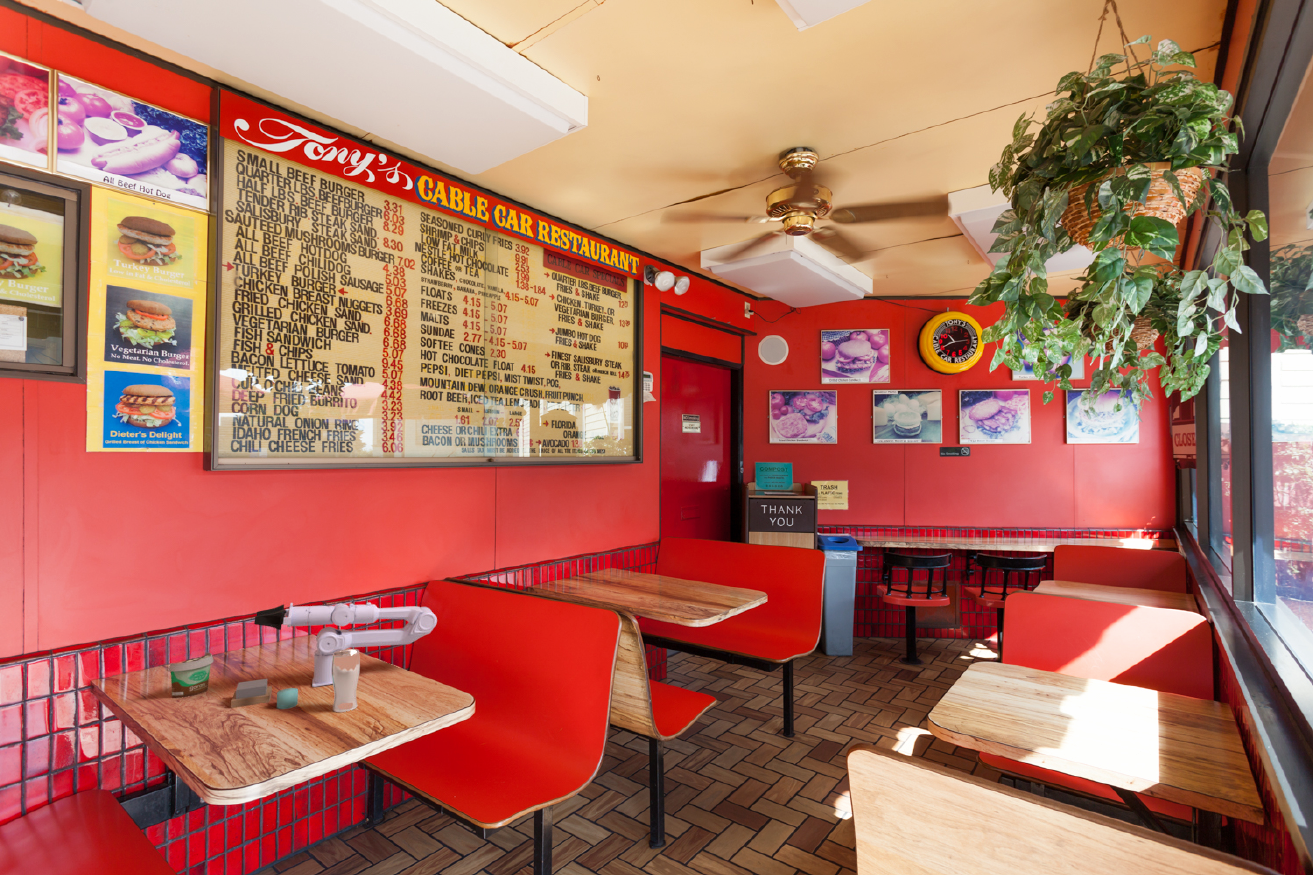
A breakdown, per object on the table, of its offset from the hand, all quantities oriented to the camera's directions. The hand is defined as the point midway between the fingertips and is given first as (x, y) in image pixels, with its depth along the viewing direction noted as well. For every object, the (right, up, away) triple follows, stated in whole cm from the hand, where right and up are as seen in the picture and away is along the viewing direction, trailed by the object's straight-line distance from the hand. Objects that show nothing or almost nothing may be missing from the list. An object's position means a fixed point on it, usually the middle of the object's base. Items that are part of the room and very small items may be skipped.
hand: (255, 617), depth 186 cm
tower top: (+3, -19, -7) cm, 21 cm away
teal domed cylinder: (+16, -21, -12) cm, 29 cm away
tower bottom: (+3, -22, -7) cm, 23 cm away
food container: (-17, -22, -1) cm, 28 cm away
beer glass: (+33, -21, -14) cm, 42 cm away
